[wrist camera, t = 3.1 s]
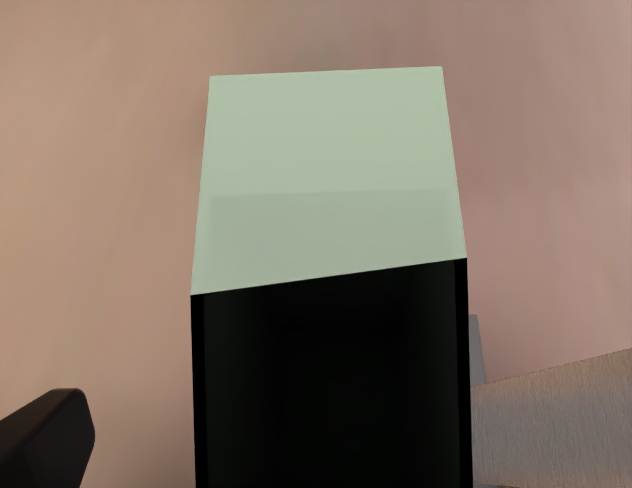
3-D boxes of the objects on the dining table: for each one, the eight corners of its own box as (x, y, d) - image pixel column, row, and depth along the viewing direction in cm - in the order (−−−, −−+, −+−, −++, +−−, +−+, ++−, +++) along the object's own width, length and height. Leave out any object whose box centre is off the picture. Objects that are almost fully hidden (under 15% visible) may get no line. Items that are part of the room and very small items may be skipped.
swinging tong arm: (415, 499, 13) (1787, 784, 2) (374, 500, 13) (1640, 835, 2) (406, 387, 14) (1226, 123, 3) (369, 386, 14) (1092, 100, 3)
